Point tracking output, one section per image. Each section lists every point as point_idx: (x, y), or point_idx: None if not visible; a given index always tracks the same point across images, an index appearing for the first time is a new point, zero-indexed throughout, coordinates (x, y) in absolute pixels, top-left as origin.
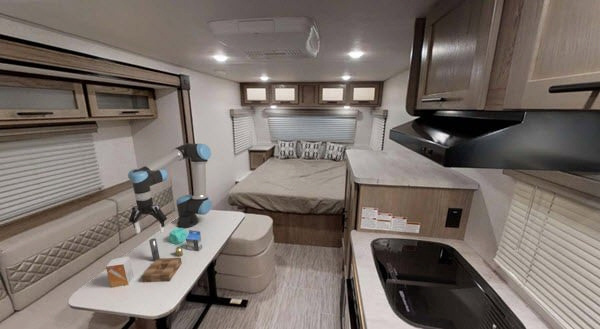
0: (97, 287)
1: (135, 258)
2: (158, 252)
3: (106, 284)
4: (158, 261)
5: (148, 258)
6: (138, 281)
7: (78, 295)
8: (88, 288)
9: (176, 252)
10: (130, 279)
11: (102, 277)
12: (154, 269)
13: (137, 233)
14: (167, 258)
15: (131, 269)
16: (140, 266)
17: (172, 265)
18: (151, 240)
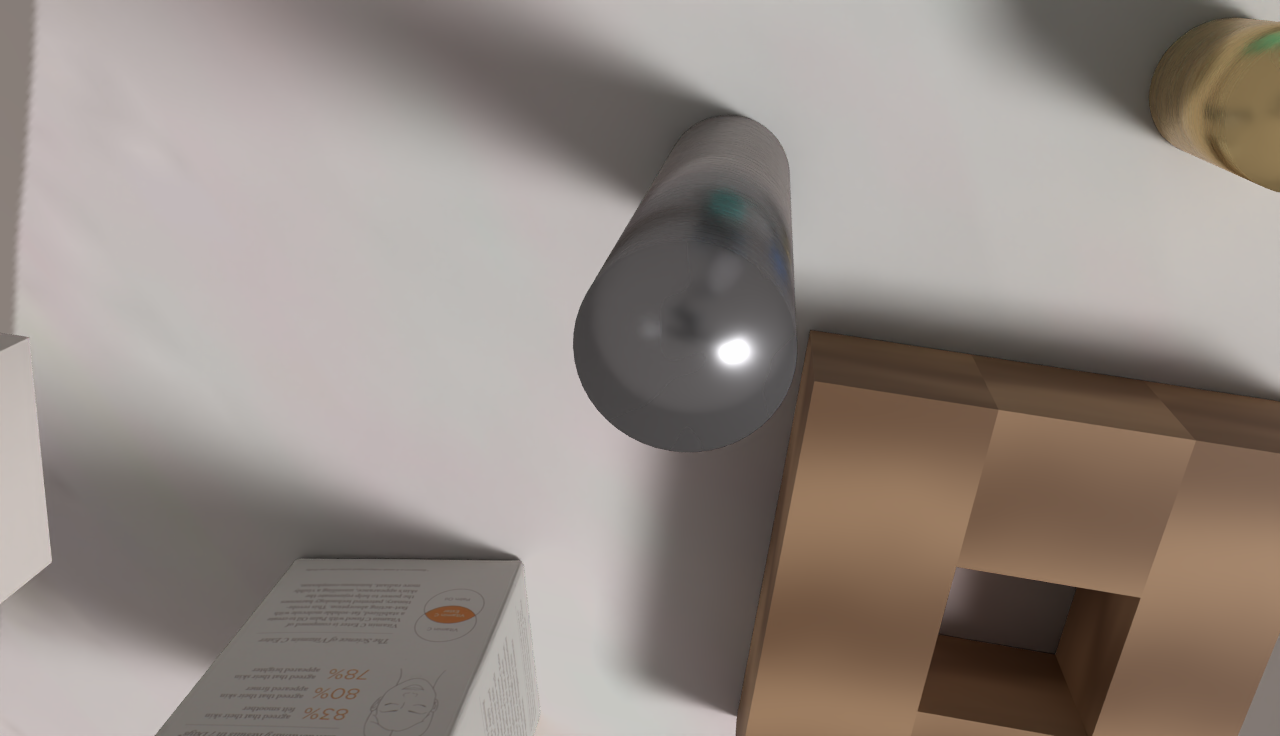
0: (128, 654)
1: (232, 18)
2: (789, 201)
3: (209, 627)
4: (891, 488)
5: (518, 76)
6: (655, 680)
7: (4, 732)
8: (20, 643)
9: (1211, 159)
10: (529, 677)
11: None
12: (896, 702)
13: (31, 565)
14: (1066, 428)
15: (486, 686)
16: (489, 317)
17: (1233, 679)
18: (657, 374)
